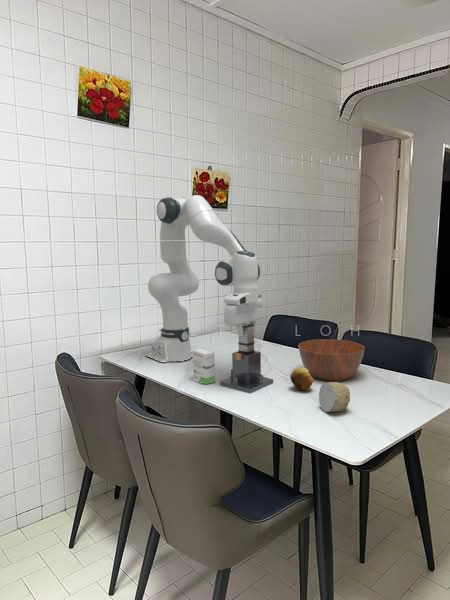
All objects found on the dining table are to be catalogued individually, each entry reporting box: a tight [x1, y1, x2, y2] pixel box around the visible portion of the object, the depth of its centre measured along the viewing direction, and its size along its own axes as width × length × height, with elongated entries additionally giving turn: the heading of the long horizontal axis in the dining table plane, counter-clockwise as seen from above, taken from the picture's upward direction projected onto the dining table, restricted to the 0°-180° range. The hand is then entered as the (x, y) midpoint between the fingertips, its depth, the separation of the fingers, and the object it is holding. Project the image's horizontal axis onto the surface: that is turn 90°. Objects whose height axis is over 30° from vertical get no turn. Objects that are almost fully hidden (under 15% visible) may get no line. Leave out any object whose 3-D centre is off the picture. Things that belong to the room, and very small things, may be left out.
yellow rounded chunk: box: [318, 381, 351, 413], centre depth 136 cm, size 10×10×10 cm
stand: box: [219, 350, 274, 394], centre depth 162 cm, size 14×14×12 cm
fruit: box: [289, 366, 314, 392], centre depth 155 cm, size 8×8×8 cm
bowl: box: [297, 338, 365, 382], centre depth 172 cm, size 25×25×11 cm
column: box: [237, 323, 255, 355], centre depth 161 cm, size 4×4×18 cm
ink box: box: [192, 348, 216, 385], centre depth 166 cm, size 9×5×12 cm, turn 35°
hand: (246, 334), depth 160 cm, fingers closed on column, 4 cm apart
